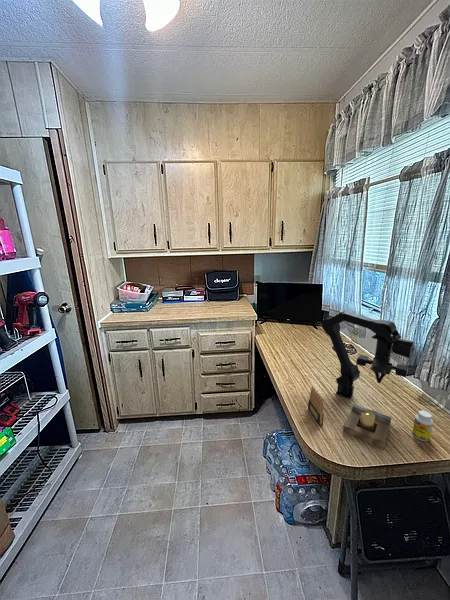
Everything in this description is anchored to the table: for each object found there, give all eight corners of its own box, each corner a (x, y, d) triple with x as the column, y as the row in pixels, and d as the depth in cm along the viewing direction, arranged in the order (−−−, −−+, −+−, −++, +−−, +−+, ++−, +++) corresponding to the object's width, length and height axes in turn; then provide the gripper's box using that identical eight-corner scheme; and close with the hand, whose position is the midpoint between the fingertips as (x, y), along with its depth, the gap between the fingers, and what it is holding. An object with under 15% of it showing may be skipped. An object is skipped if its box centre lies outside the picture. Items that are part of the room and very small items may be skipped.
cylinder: (357, 432, 102) (360, 414, 100) (360, 425, 106) (362, 408, 104) (371, 437, 99) (374, 419, 97) (374, 430, 103) (376, 413, 101)
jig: (343, 432, 102) (344, 421, 101) (352, 413, 113) (353, 403, 112) (383, 449, 94) (385, 437, 92) (389, 428, 104) (391, 417, 103)
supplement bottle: (408, 433, 101) (412, 411, 99) (417, 429, 103) (422, 407, 101) (423, 444, 96) (428, 420, 94) (433, 439, 98) (438, 416, 95)
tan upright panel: (323, 425, 106) (325, 399, 103) (318, 425, 106) (320, 400, 103) (311, 408, 116) (313, 385, 114) (307, 409, 116) (309, 385, 114)
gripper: (355, 350, 110) (351, 383, 113) (407, 363, 98) (402, 399, 102) (361, 342, 118) (357, 373, 122) (410, 353, 107) (405, 387, 110)
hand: (378, 382), depth 114 cm, fingers closed
